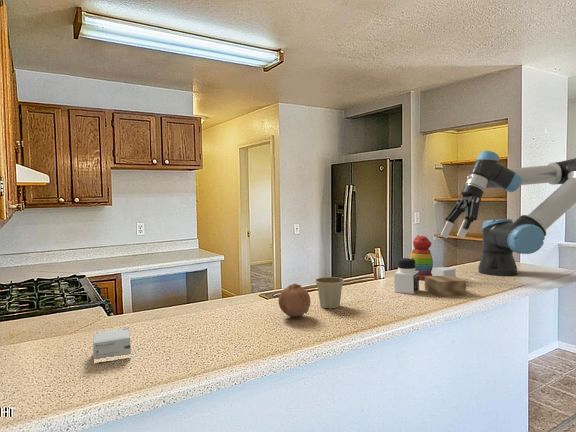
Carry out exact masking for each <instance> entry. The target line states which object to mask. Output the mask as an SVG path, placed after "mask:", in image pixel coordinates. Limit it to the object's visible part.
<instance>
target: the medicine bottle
mask: <svg viewBox="0 0 576 432" xmlns="http://www.w3.org/2000/svg"><path fill="white" fill-rule="evenodd" d="M414 270H415V260H414V259H412V258H410V257H401V258H398V259H397V271H396V272H394V273H393V275H394V277H393V278H394V279H393V281H394V282H393V283H394V286H393V287H394V293H400V294H408V295H415V294H416V293H417V292H419V290H420V280H419V271H414Z"/></svg>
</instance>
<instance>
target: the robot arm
mask: <svg viewBox="0 0 576 432" xmlns="http://www.w3.org/2000/svg"><path fill="white" fill-rule="evenodd" d="M499 161H500V156H499V155H498V154H497V153H496V152H494V151H491V150H483V151H480V152H479V154H478V155H477V158H476V159H475V162H474V163H473V167H472V168H471V170H470V173H469V175H468V176H467V180H466V182H465V185H464V186H463V188H462V189H461V192H460V194H461V196H462V199H459V198H458V199H457V200H456V202H455V204H454V206H453V207H452V208H451V210H450V211H449V213H448V214H447V215H446V217H445V219H444V220H445V221H446V222H445V225H444V226H443V228H442V231H441V233H440V236H441V237H443V238H445V239H448V237H449V235H450V233H451V231H452V229H453V227H454V224H455V222H456V220H457V219H458V218H459V217H460V216H461V214H462V213H465V217H464V218H463V220H462V223H461V225H460V227H459V230H458V231H457V234H456V236H458V237H459V238H461V239H465V238H466V235H467V233H468V231H469V230H470V227H471V224H472V223H474V221H475V222H476V221H477V219H478V215H479V207H480V204H481V201H482V198H483V195H484V191H486V189H503V190H504V191H507V192H509V193H513V192H515V191H517V190H518V189H519V188H520V187H521V186H527V185H537V184H538V185H539V184H547V183H548V184H549V185H553V186H554V185H560V186H559V187H557V188H556V190H554V191H553V192H552V193H551V194H550V195H549V196H548V197H546V199H544V200H543V201H542V202H541V203H540V204H539V205H537V206H536V207H535V208H534V209H533V210H532V211H530V213H528V214H522V215H520V216H518V218H517V219H516V220H513V219H511V218H503V219H502V218H501V219H500V218H499V219H498V218H497V219H487V220H485V221H483V223H482V228H481V230H482V256H481V257H480V261H479V264H478V267H477V269H478V270H477V271H478V272H479V273H481V274H484V275H490V276H491V275H492V276H514V275H518V267H517V264H516V261H515V257H514V255H513V253H516V254H520V255H521V254H522V255H531V254H533V253H536V252H538V251H539V250H540V249H541V248H542V247H543V246H544V241H545V237H546V236H547V229H549V228H550V227H551V226H552V225H553V224H554V223H555V222H557V220H559V218H561V217H562V216H564V214H565V213H566V212H568V211H569V210H570V209H571V208H572V207H573V206H575V204H576V157H574V158H570V159H566V160H561V161H555V162H550V163H548V164H547V165H537V166H535V165H534V166H527V167H526V166H525V167H516V168H515V167H514V168H508V167H506V166H504V165H502V164H501V163H499Z"/></svg>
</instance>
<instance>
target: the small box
mask: <svg viewBox="0 0 576 432" xmlns="http://www.w3.org/2000/svg"><path fill="white" fill-rule="evenodd" d="M130 335H131V334H130V328H129V327H126V328H120V329H111V330H110V329H109V330H104V331H99V332H94V333H93V346H92V348H93V350H92V351H93V353H92V354H93V358H94V359H100V358H106V357H114V356H121V355H127V354H131V353H132V351H131V336H130ZM93 358H92V359H93ZM94 359H93V360H94Z"/></svg>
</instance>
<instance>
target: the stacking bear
mask: <svg viewBox="0 0 576 432" xmlns="http://www.w3.org/2000/svg"><path fill="white" fill-rule="evenodd" d="M412 245H413V248H414V249H413V250H411V252H410V255H409V258H412V259H414V260H415V270H414V271H419V281H425V276H432V268H434V266H433V265H434V261H433V256H432V253H431V250H430V248H431V246H432V242H431V241H430V239H429V238H428V237H427V236H424V235H419V234H418V235H416V237H414V239H413V241H412Z"/></svg>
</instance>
